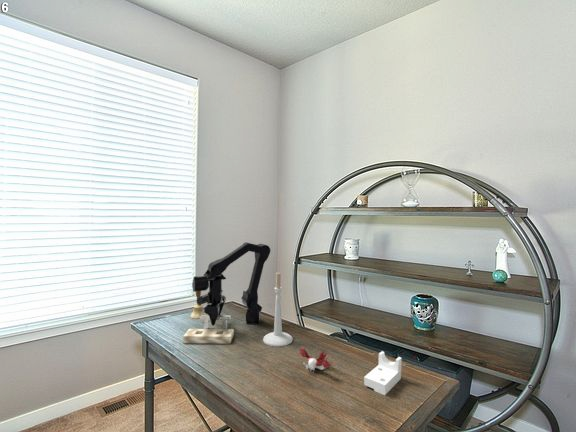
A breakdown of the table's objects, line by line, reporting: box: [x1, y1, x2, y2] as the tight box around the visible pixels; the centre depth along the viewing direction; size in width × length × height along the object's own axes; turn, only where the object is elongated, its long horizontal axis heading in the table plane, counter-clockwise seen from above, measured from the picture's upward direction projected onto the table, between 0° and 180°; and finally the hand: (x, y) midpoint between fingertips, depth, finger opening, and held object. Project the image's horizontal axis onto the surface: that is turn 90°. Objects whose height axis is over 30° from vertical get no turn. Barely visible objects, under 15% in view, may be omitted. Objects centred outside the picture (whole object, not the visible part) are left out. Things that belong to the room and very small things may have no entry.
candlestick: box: [262, 272, 294, 348], centre depth 140 cm, size 13×13×30 cm
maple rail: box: [182, 328, 235, 345], centre depth 140 cm, size 20×8×3 cm, turn 90°
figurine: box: [299, 345, 334, 374], centre depth 116 cm, size 15×12×7 cm
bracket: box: [363, 350, 402, 396], centre depth 107 cm, size 13×7×8 cm, turn 139°
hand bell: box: [189, 291, 207, 320], centre depth 169 cm, size 8×8×16 cm
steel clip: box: [199, 314, 232, 329], centre depth 152 cm, size 14×2×6 cm, turn 90°
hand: (215, 321), depth 152 cm, fingers open, 9 cm apart
